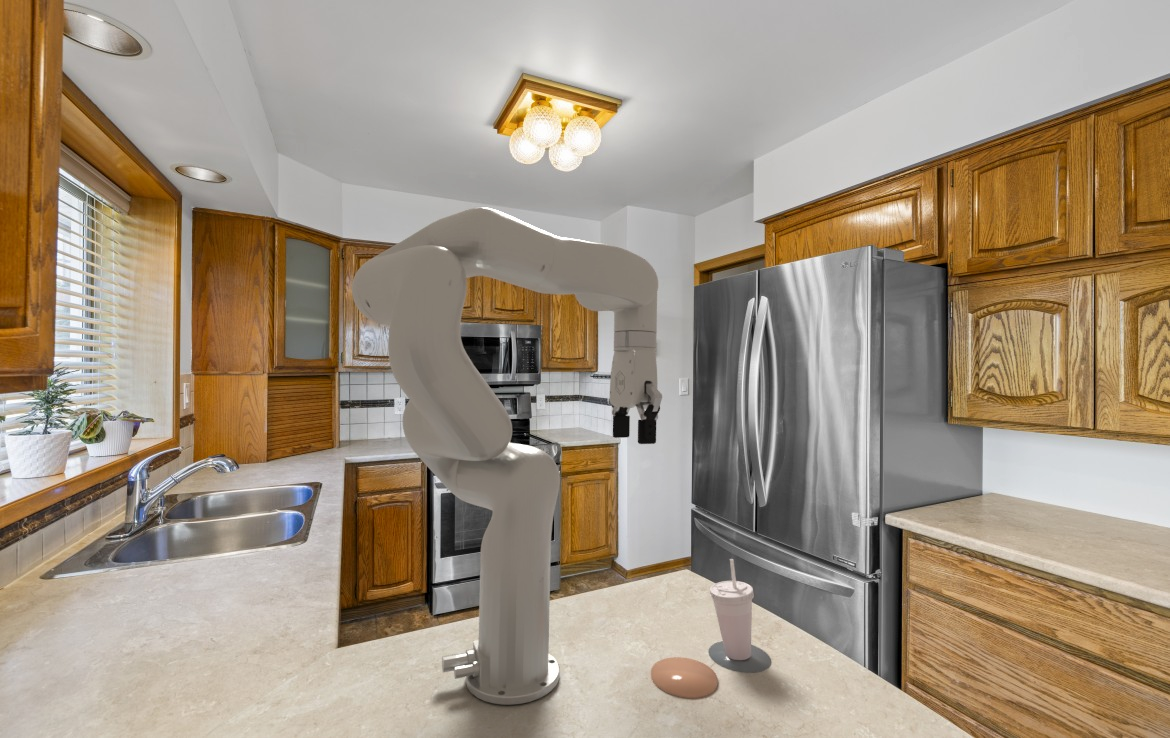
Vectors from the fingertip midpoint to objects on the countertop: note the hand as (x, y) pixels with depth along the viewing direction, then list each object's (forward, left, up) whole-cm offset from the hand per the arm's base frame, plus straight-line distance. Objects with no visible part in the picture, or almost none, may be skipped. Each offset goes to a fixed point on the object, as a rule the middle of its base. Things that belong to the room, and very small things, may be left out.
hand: (633, 440), depth 92 cm
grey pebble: (+9, -18, -31) cm, 37 cm away
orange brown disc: (-2, -20, -31) cm, 37 cm away
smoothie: (+9, -18, -30) cm, 36 cm away
